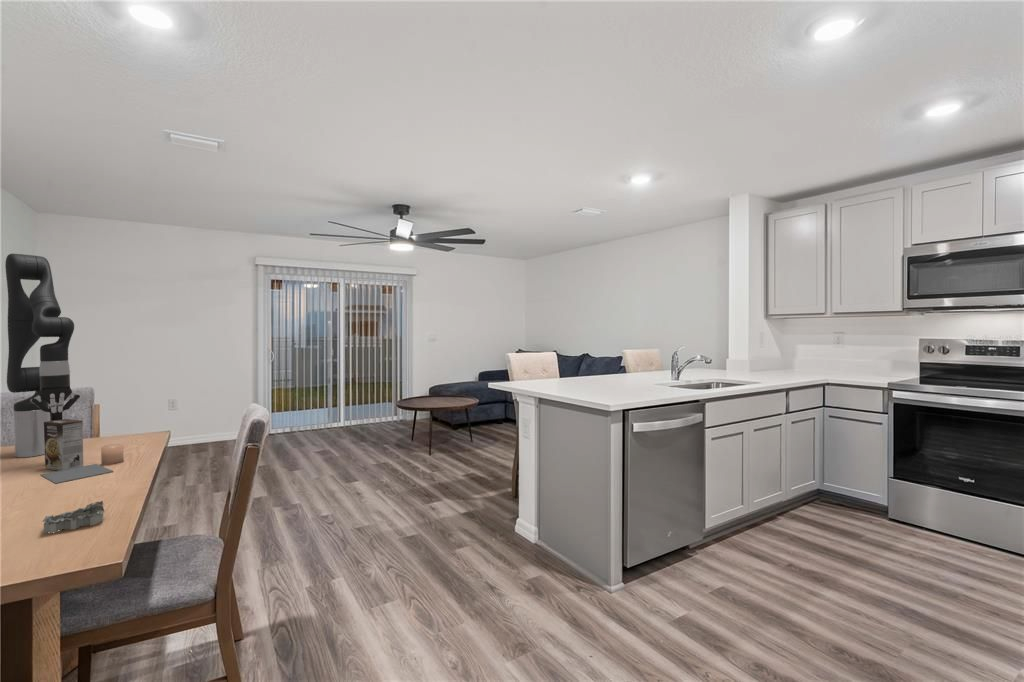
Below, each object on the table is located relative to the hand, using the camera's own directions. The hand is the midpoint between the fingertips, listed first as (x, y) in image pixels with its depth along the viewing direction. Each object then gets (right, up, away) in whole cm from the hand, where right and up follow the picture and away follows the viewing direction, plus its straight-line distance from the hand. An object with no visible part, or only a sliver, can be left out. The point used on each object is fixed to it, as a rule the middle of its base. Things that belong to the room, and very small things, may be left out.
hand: (56, 422), depth 162 cm
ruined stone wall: (+55, -16, -51) cm, 77 cm away
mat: (+17, -15, -11) cm, 25 cm away
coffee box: (+6, -15, -4) cm, 17 cm away
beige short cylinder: (+18, -15, +2) cm, 23 cm away
